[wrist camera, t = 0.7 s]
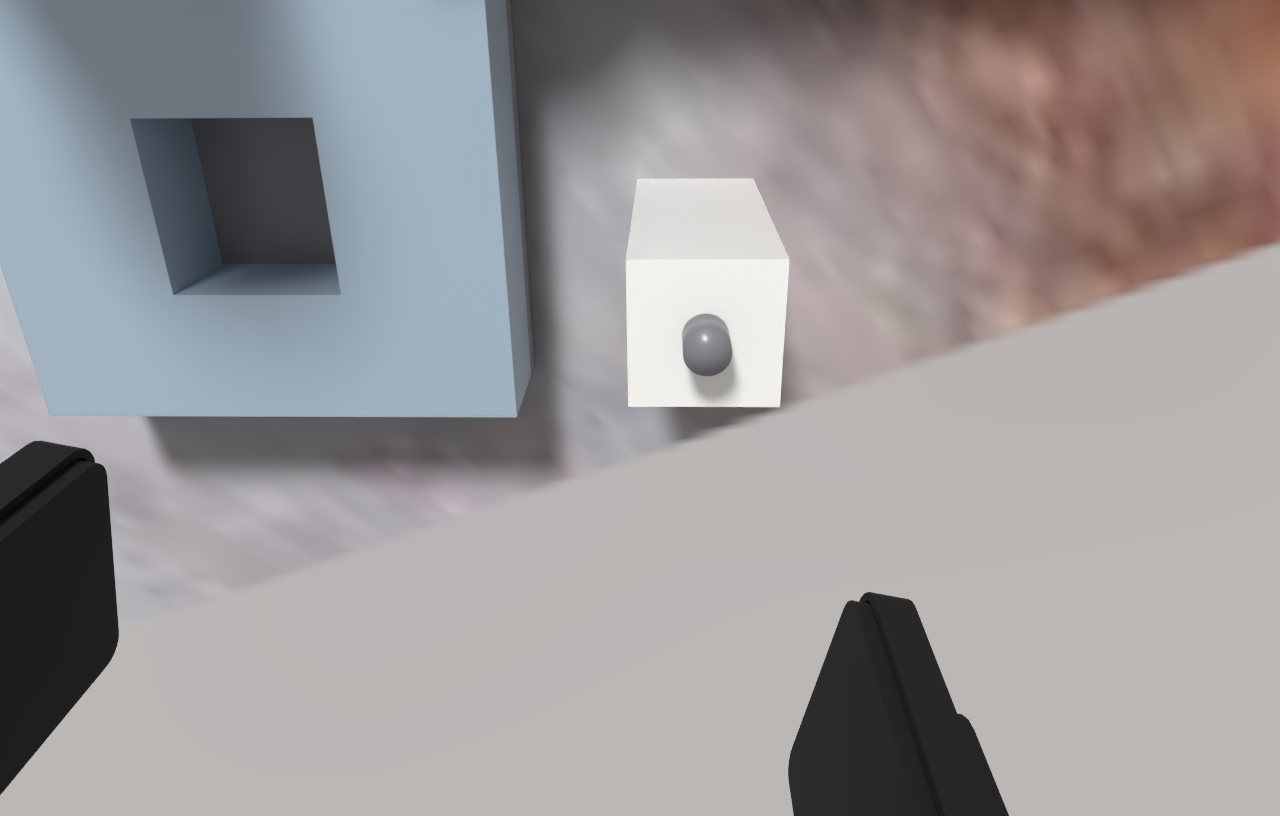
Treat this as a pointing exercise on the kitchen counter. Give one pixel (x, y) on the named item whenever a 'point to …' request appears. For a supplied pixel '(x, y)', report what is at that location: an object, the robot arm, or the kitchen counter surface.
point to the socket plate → (266, 206)
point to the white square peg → (704, 296)
